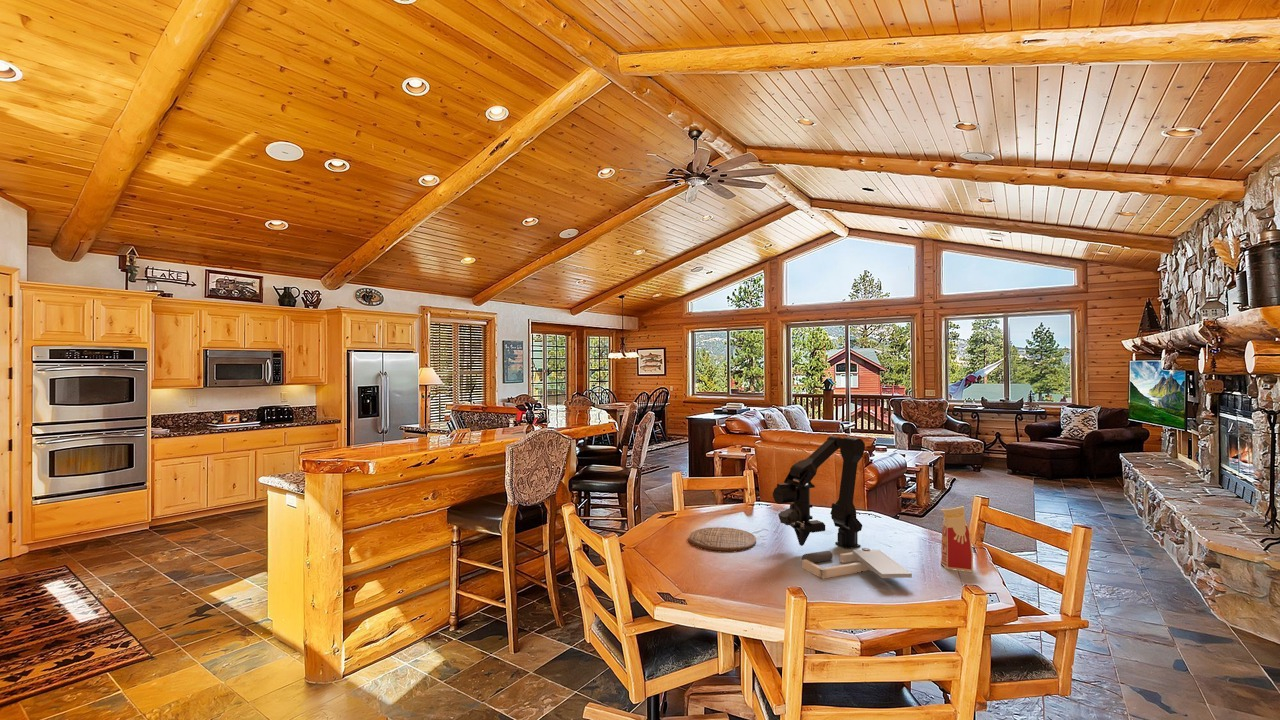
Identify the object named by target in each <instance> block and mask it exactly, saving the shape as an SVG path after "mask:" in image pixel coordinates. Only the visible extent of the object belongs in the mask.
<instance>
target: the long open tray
mask: <svg viewBox="0 0 1280 720" xmlns="http://www.w3.org/2000/svg"><path fill="white" fill-rule="evenodd" d="M859 561H860V562H859ZM839 562H840V563H842V564H840V565H833V566H828V567H826V566H825V567H822V566H820V565H818V564H816V563H812V562H810V561H808V560H806V559H805V560H802V559H801V567H802V569H804V570H805V571H807V572H809V573H811V574H812V575H815V576H817V577H818V578H821V579H822V580H823V579H828V578H835V577H840V576H845V575H851V574H856V573H857V572H858V573H862V572H861V571H863V572H868V571H867V570H869V571H873V570H872V569H870V568H869V567H868V566H867V565H866V564H864V563H863V562H862V561H861V560H860V559H858V558H857V557H856V556H855V555H854V554H853V551H850V552H844V553H840V554H839Z"/></svg>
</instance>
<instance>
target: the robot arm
mask: <svg viewBox="0 0 1280 720" xmlns="http://www.w3.org/2000/svg"><path fill="white" fill-rule="evenodd" d="M839 449H840V450H839ZM865 449H866V443H865V442H864V441H863V439H862V438H858V437H850V436H844V437H843V438H842V437H840V436H835V435H831V436H828V438H826V440H825V441H824V442H823V443H822V444H821V445H820V446H819V447H818V448H816V449H815V450H814V452H812V453H811V454H810V455H809V456H808V457H806V458H805V459H802V460H799V461H798V462H796V463H794V464H793V465H791V467H790V469H789V472H788V474H787V475H786V478H785V479H784V480H783V483H776V487H775V488H774V489H773V492H772V498H773V499H774V502H775V503H776V504H777V505H782V504H783V505H784V504H789V507H788V508H787V509H784V510H781V511H780V512H779V513H778V514H777V515H778V519H779V522H780V523H781V524H783V525H785V526H790V527H791V528H792V529H793V530H794V532H795V535H796V538H797V540H798V541H797V542H798V544H799V546H800V547H801V546H802V547H803V546H804V545H805V543H806V541H807V540H808V537H809V535H810V533H819V532H825V531H826V524H825V523H824V522H823V521H820V520H817V519H815V520H814V519H813V515H811V509H813V504H811V501H810V500H811V490H810V489H815V488H816V485H815V484H814V483H812V480H813V479H814V478H815V476H816V475H817V472H818V469H819V468H820V467H821V466H822V464H824V463H825V462H826V461H827V460H828V459H829V458H830V457H831V456H832V455H833V454H834V453H836V452H837V451H838V450H839V452H840V455H841V458H842V460H843V461H842V470H841V479H840V487H839V495H838V500H837V501H836V502H835V503H831V511H830V517H831V519H832V521H833V525H834V526H835V527H837V528H838V529H837V531H838V532H837V541H836V542H834V544H835V545H838V546H839V547H842V548H844V549H848V550H849V549H853V548H860V546H861V547H862V545H861V544H859V543H858V541H859V540H858V536H859V535H858V533H859V532H861V531H862V529H863V524H862V523H861V522H860V521H859V519H858V518H857V509H856V507H855V504H854V496H855V495H854V494H855V486H856V479H857V471H858V464H859V462H860V460H861V459H862V458H863V456H864V452H865Z"/></svg>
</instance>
